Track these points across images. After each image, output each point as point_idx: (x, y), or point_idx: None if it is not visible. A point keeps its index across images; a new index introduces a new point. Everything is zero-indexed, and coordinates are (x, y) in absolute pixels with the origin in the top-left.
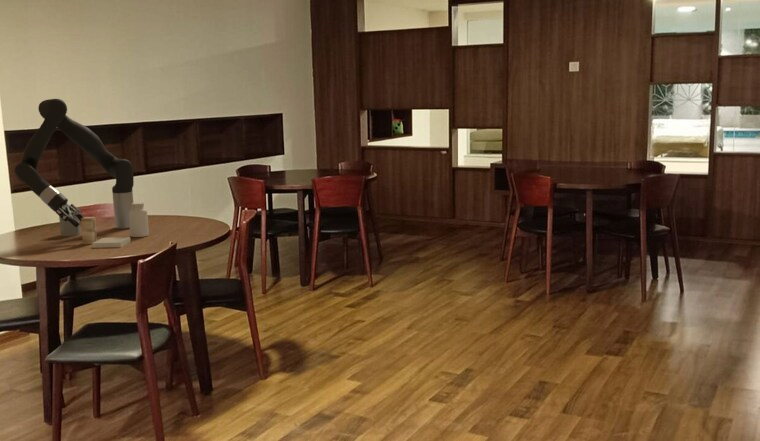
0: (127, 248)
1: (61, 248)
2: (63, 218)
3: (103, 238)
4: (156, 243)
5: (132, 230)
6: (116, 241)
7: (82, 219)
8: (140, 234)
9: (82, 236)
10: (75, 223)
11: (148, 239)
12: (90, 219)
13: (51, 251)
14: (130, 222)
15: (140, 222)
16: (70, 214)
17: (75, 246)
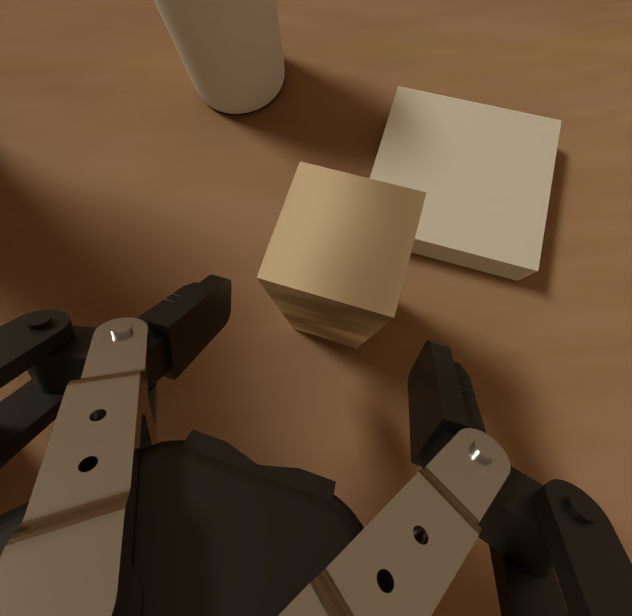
0: (586, 113)
1: None
2: (562, 608)
3: None
4: (486, 10)
5: (262, 66)
6: (520, 142)
7: (397, 298)
8: (283, 58)
9: (362, 342)
10: (464, 384)
11: (360, 43)
12: (422, 206)
13: None
14: (234, 13)
15: None
16: (443, 490)
17: None
